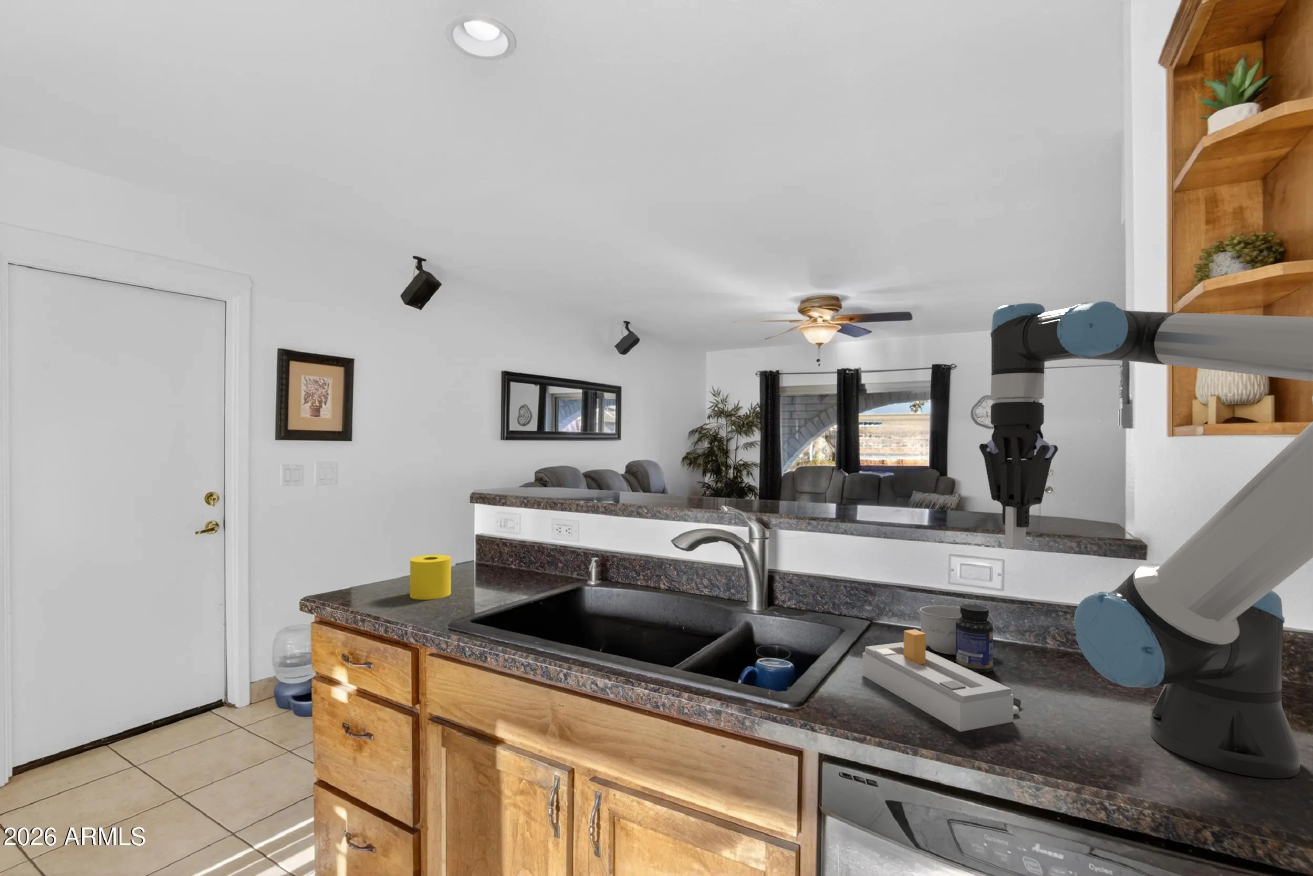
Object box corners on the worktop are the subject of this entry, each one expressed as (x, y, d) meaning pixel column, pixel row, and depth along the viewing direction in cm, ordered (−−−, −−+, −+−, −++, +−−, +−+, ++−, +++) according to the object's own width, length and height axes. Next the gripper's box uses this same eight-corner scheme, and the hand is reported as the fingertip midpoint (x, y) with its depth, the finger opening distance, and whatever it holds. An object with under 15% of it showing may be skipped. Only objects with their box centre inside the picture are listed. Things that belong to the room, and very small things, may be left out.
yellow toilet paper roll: (412, 591, 167) (412, 555, 167) (451, 588, 170) (451, 554, 170) (407, 600, 158) (408, 563, 158) (449, 598, 160) (449, 561, 160)
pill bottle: (997, 675, 111) (998, 613, 111) (960, 672, 113) (961, 611, 112) (986, 662, 117) (987, 603, 117) (951, 660, 119) (952, 601, 118)
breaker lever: (925, 663, 105) (925, 633, 105) (913, 665, 104) (914, 635, 104) (915, 658, 107) (915, 629, 107) (903, 660, 106) (903, 630, 106)
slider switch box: (1013, 721, 93) (1013, 686, 93) (959, 731, 90) (960, 695, 90) (908, 669, 114) (909, 640, 114) (862, 675, 111) (862, 645, 111)
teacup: (924, 657, 120) (924, 615, 120) (915, 639, 131) (915, 600, 131) (1004, 664, 117) (1005, 621, 117) (988, 645, 127) (988, 605, 127)
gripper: (1072, 400, 97) (1070, 552, 97) (1000, 403, 109) (999, 539, 109) (1035, 399, 95) (1033, 555, 95) (967, 402, 107) (965, 541, 107)
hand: (1015, 546), depth 102 cm, fingers closed
